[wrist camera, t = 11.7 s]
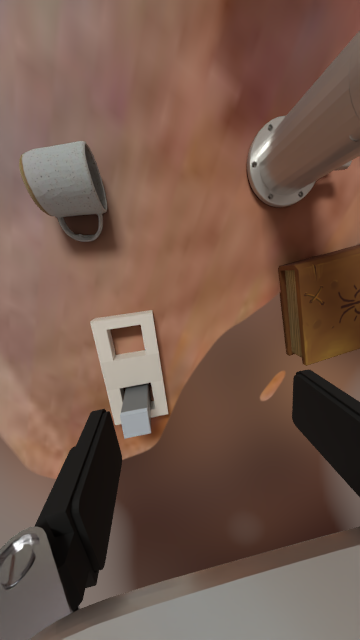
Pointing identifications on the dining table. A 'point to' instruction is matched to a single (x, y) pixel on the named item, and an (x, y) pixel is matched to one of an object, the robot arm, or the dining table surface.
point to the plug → (136, 411)
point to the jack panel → (130, 361)
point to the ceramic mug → (65, 183)
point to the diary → (321, 305)
